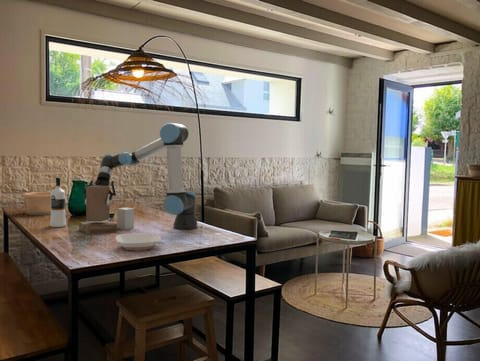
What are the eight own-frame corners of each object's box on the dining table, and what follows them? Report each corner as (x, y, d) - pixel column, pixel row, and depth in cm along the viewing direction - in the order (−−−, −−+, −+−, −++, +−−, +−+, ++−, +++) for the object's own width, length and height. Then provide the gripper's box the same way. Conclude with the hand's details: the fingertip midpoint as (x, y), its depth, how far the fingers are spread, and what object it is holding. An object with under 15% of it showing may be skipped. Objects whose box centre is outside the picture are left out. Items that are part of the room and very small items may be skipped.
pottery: (42, 216, 285) (42, 196, 284) (16, 214, 291) (15, 194, 290) (63, 212, 306) (63, 192, 305) (39, 210, 312) (39, 191, 311)
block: (101, 221, 238) (101, 187, 237) (85, 220, 240) (85, 186, 239) (110, 219, 248) (110, 185, 247) (94, 218, 250) (94, 184, 249)
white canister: (133, 227, 257) (134, 208, 256) (125, 229, 251) (125, 209, 250) (126, 226, 260) (126, 207, 259) (117, 228, 254) (117, 208, 254)
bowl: (163, 252, 201) (163, 241, 200) (116, 254, 193) (116, 243, 193) (156, 242, 221) (156, 232, 221) (114, 244, 214) (114, 234, 213)
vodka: (69, 225, 256) (69, 177, 254) (56, 228, 248) (56, 178, 246) (59, 224, 261) (59, 176, 259) (46, 226, 253) (46, 177, 250)
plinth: (116, 232, 244) (117, 223, 244) (90, 235, 234) (90, 226, 233) (105, 227, 256) (105, 219, 256) (79, 230, 245) (79, 222, 245)
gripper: (125, 180, 258) (118, 208, 244) (86, 179, 257) (77, 207, 243) (123, 172, 253) (116, 200, 239) (83, 170, 252) (74, 199, 238)
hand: (96, 203), depth 241 cm, fingers closed on block, 12 cm apart
